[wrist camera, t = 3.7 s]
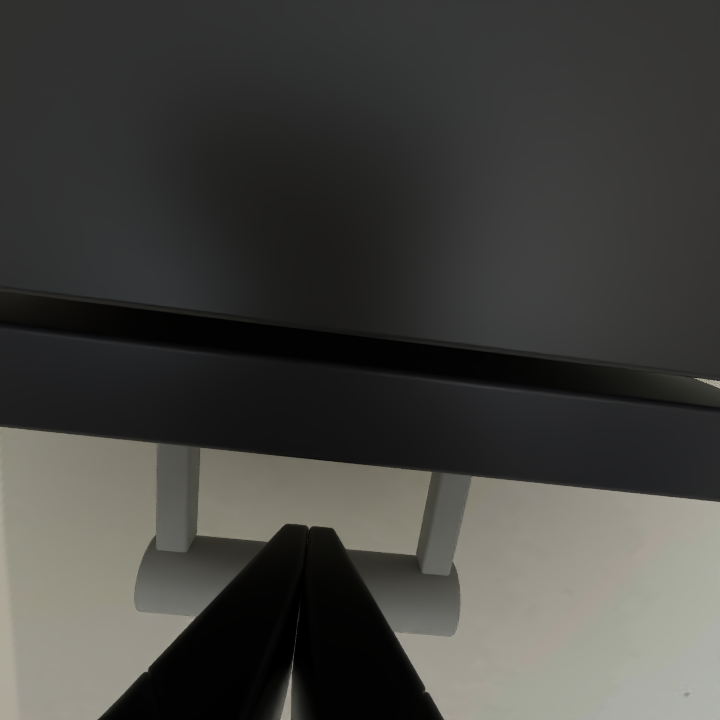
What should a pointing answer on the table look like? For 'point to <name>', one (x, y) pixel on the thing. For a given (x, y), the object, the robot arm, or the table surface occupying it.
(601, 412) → the drawer
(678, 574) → the table surface
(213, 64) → the cabinet
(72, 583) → the table surface
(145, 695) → the robot arm
